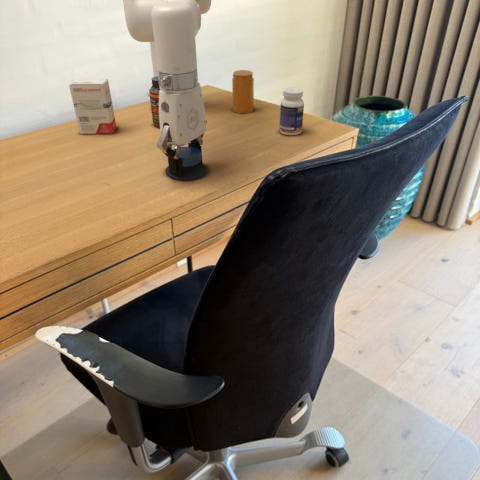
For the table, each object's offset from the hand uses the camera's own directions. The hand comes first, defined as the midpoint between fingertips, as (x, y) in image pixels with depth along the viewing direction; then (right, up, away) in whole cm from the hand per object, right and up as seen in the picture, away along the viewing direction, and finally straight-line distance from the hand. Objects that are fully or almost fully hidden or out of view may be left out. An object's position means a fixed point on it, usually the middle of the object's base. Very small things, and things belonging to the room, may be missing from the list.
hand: (186, 167), depth 103 cm
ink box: (-25, +16, +19) cm, 35 cm away
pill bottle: (+24, +14, +17) cm, 33 cm away
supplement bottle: (-8, +18, +22) cm, 30 cm away
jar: (+13, +26, +30) cm, 41 cm away
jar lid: (0, +2, -2) cm, 3 cm away
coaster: (0, -1, 0) cm, 1 cm away
